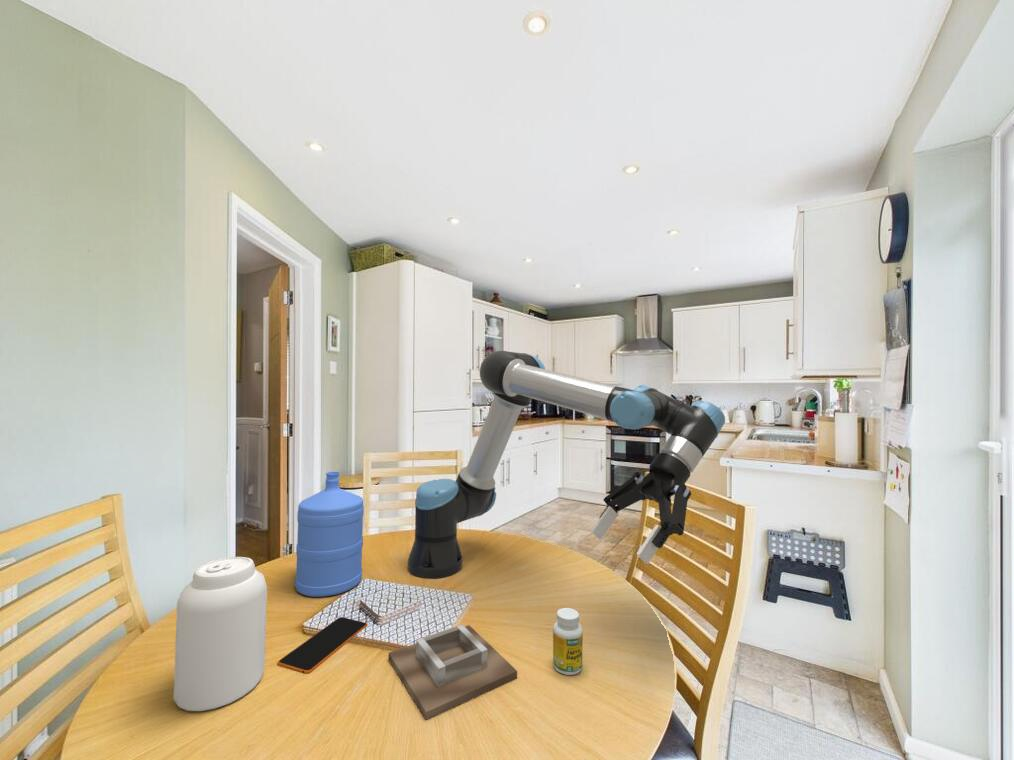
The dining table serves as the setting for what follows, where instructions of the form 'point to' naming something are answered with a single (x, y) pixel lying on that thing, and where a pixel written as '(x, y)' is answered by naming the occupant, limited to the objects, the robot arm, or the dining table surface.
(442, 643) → the square framed base tray
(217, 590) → the can
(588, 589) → the dining table surface
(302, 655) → the smartphone
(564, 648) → the supplement bottle
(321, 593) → the water jug
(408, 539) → the dining table surface
